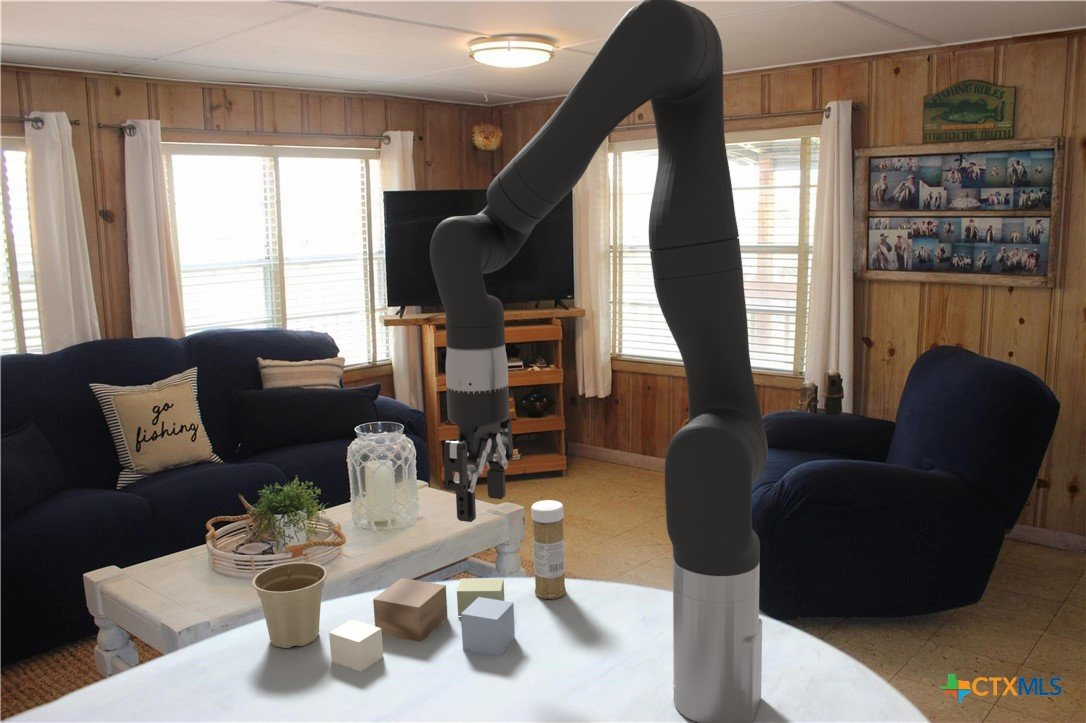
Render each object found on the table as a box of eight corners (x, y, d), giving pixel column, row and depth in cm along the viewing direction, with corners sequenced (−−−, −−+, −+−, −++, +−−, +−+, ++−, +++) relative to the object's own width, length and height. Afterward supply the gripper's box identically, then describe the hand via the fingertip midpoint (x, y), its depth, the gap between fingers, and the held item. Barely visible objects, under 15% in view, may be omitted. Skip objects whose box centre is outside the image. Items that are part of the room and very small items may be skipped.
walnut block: (447, 619, 123) (445, 585, 122) (421, 643, 116) (419, 607, 115) (403, 611, 125) (401, 577, 124) (375, 634, 119) (373, 599, 118)
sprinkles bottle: (561, 584, 132) (559, 497, 129) (569, 598, 127) (567, 508, 125) (531, 588, 131) (528, 500, 128) (538, 602, 126) (534, 511, 124)
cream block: (383, 657, 113) (381, 628, 112) (360, 672, 110) (358, 642, 109) (354, 648, 116) (351, 619, 115) (331, 662, 112) (329, 632, 111)
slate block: (514, 638, 117) (513, 602, 116) (498, 656, 112) (496, 619, 111) (480, 632, 119) (478, 596, 118) (462, 650, 114) (461, 613, 113)
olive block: (504, 604, 126) (503, 578, 126) (501, 618, 122) (500, 590, 122) (462, 605, 127) (461, 578, 126) (458, 618, 123) (456, 591, 122)
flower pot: (341, 621, 123) (336, 562, 121) (317, 656, 113) (312, 592, 112) (275, 620, 124) (269, 561, 122) (246, 655, 114) (240, 591, 113)
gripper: (479, 396, 101) (484, 533, 104) (528, 372, 114) (532, 493, 117) (420, 392, 104) (427, 525, 107) (475, 368, 117) (480, 487, 120)
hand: (482, 508), depth 112 cm, fingers open, 8 cm apart
